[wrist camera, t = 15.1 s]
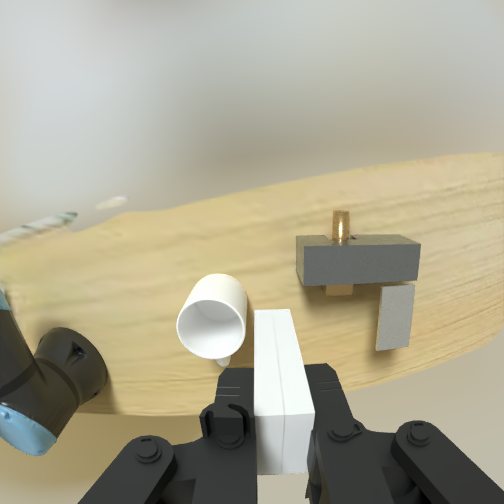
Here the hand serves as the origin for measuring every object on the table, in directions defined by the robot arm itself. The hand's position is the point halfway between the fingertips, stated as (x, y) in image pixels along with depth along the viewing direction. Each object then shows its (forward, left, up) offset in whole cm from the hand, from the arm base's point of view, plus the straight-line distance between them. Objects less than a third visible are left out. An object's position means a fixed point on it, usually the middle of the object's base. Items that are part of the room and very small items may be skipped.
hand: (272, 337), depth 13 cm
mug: (-6, -12, -31) cm, 33 cm away
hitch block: (+13, -4, -30) cm, 33 cm away
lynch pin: (+11, -3, -31) cm, 33 cm away
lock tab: (+18, -11, -23) cm, 31 cm away
